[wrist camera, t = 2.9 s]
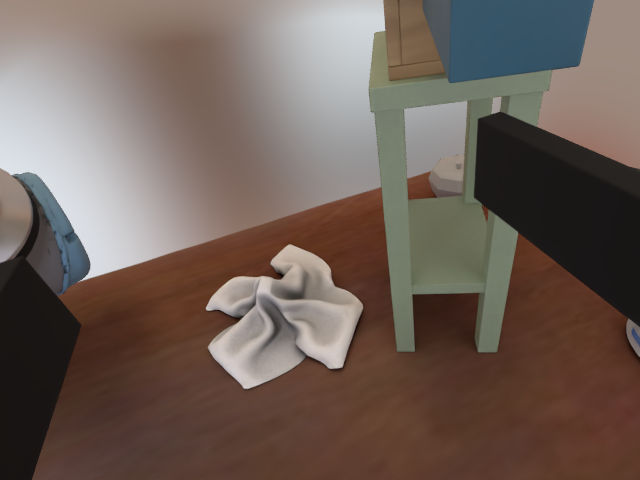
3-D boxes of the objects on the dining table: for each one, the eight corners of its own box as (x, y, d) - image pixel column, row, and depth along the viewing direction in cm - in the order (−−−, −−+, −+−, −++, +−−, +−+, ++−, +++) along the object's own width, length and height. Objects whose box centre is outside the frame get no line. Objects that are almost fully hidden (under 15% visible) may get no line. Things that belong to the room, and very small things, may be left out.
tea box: (526, 62, 22) (543, -57, 18) (388, 81, 23) (381, -25, 20) (484, 16, 31) (490, -69, 28) (388, 32, 33) (383, -46, 29)
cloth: (386, 355, 40) (381, 317, 36) (209, 416, 38) (184, 382, 34) (328, 233, 57) (320, 199, 53) (205, 271, 55) (188, 238, 52)
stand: (499, 354, 38) (554, 63, 21) (395, 353, 40) (368, 88, 23) (475, 257, 48) (498, 11, 31) (393, 260, 50) (374, 32, 34)
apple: (428, 217, 56) (428, 178, 52) (428, 188, 62) (428, 150, 58) (488, 216, 54) (493, 175, 50) (482, 185, 59) (486, 146, 55)
